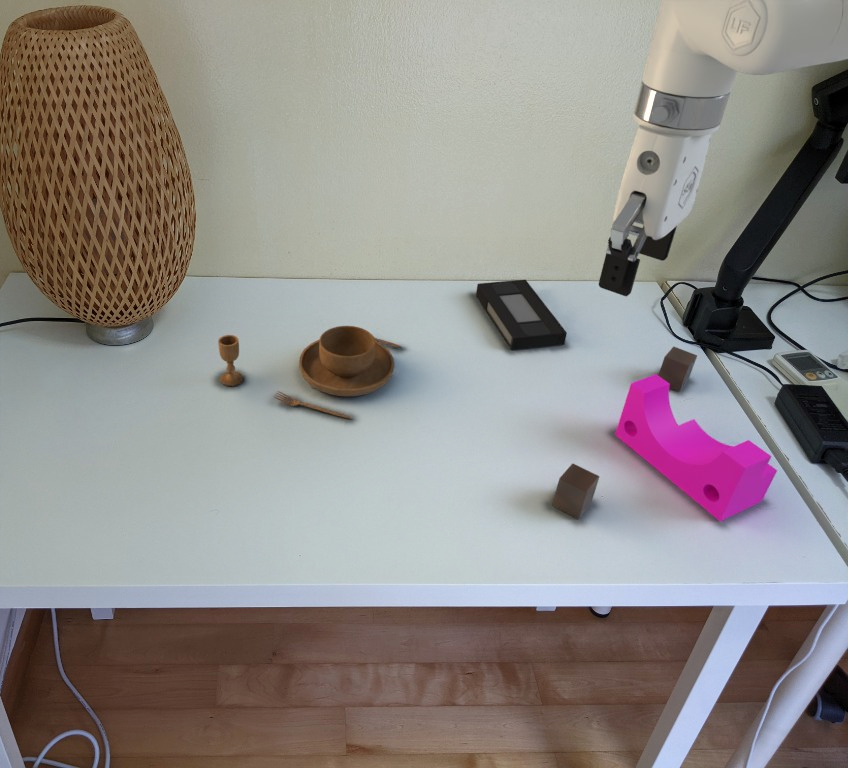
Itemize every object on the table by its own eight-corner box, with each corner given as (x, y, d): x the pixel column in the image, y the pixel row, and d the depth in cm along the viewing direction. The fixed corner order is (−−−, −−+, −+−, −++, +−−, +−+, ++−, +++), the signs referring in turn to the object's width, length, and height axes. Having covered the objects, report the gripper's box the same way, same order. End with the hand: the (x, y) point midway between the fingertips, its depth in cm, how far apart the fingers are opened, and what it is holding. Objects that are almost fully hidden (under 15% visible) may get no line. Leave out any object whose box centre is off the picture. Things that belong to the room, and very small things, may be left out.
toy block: (761, 501, 81) (788, 448, 77) (720, 521, 79) (745, 468, 74) (654, 419, 92) (672, 368, 87) (614, 434, 89) (631, 383, 85)
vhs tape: (511, 350, 102) (513, 338, 101) (475, 295, 114) (477, 283, 112) (564, 345, 104) (567, 332, 102) (523, 291, 115) (525, 279, 114)
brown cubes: (688, 381, 98) (697, 355, 95) (578, 520, 79) (586, 492, 76) (664, 371, 99) (673, 346, 97) (551, 505, 80) (559, 478, 78)
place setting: (366, 426, 90) (368, 386, 86) (213, 385, 95) (209, 346, 92) (411, 347, 103) (415, 309, 99) (275, 315, 108) (273, 278, 105)
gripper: (687, 141, 63) (635, 319, 73) (751, 93, 74) (698, 254, 84) (600, 120, 67) (562, 293, 77) (673, 77, 77) (631, 234, 88)
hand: (633, 272), depth 81 cm, fingers open, 9 cm apart
